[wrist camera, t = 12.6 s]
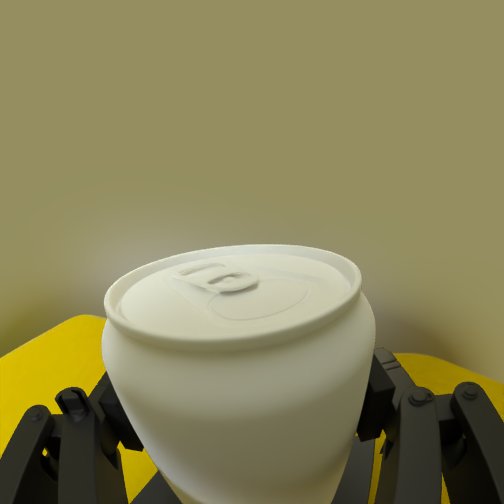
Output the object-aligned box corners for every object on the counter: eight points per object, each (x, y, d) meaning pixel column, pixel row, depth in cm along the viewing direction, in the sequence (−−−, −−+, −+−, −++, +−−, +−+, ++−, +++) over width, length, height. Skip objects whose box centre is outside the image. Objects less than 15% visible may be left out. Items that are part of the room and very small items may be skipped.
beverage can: (250, 570, 5) (152, 441, 2) (158, 472, 11) (74, 277, 8) (365, 473, 10) (420, 259, 7) (263, 414, 16) (248, 234, 13)
